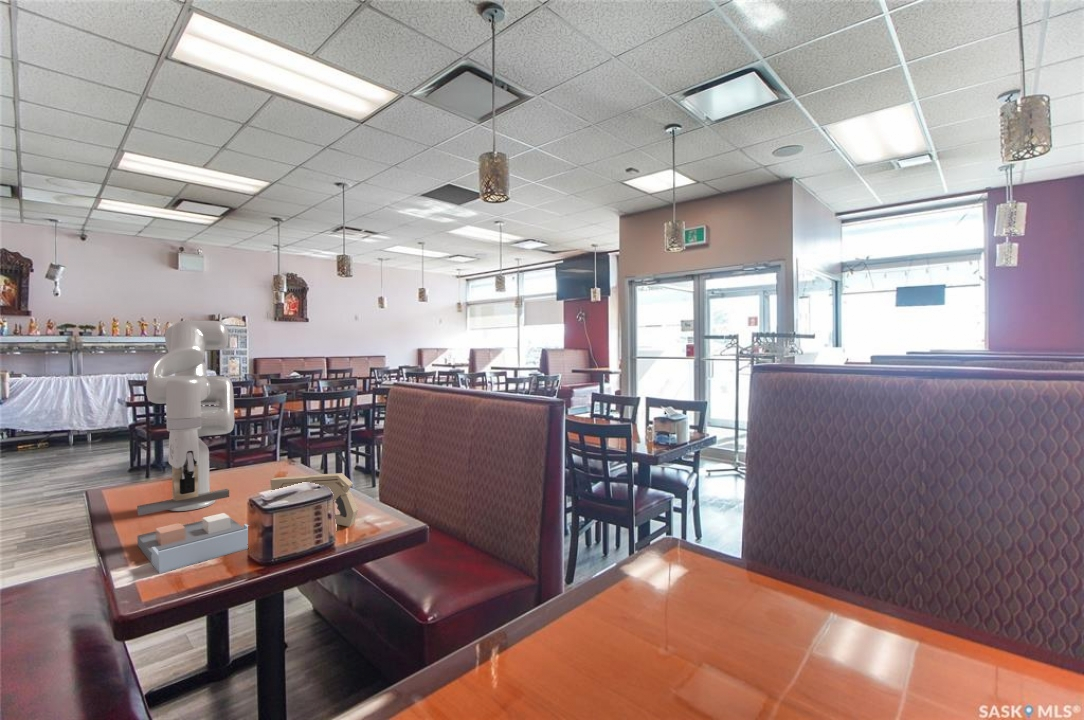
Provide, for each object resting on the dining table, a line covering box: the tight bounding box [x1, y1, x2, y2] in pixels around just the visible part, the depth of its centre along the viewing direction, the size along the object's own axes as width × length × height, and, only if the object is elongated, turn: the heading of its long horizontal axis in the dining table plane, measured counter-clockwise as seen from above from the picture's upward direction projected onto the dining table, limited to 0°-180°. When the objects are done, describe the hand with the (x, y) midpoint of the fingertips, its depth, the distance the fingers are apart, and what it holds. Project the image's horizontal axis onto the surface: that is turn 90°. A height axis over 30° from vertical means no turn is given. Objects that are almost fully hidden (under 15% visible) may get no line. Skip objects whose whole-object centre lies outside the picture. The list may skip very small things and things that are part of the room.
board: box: [136, 517, 244, 563], centre depth 128 cm, size 15×20×2 cm
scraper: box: [136, 465, 230, 516], centre depth 131 cm, size 3×20×11 cm, turn 139°
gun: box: [270, 472, 359, 528], centre depth 141 cm, size 24×3×15 cm, turn 84°
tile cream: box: [202, 512, 231, 534], centre depth 130 cm, size 5×5×3 cm
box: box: [150, 523, 249, 574], centre depth 120 cm, size 8×20×5 cm, turn 139°
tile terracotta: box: [155, 522, 185, 545], centre depth 122 cm, size 5×5×3 cm
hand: (185, 491), depth 131 cm, fingers closed on scraper, 3 cm apart
